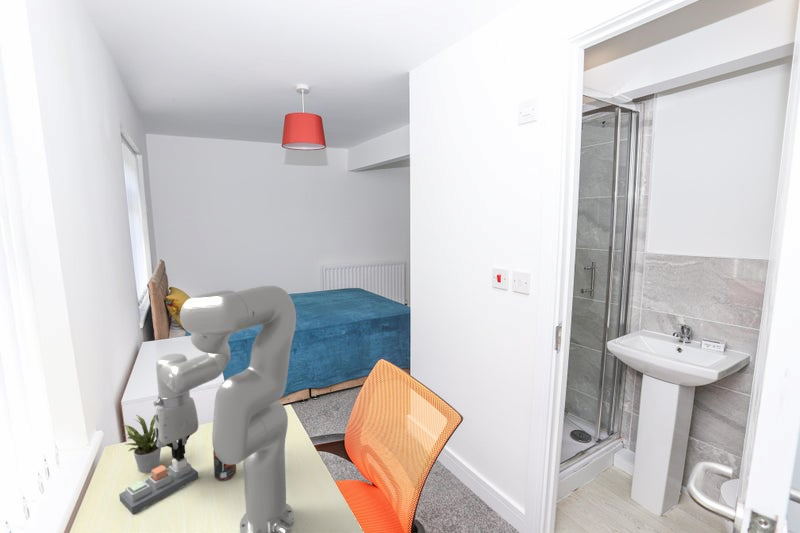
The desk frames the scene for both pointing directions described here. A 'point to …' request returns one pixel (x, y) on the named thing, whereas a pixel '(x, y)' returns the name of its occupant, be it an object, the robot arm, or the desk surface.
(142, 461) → the house plant
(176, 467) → the button
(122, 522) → the desk surface
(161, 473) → the button
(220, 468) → the supplement bottle
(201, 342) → the robot arm
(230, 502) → the desk surface
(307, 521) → the desk surface
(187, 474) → the panel
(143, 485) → the button
